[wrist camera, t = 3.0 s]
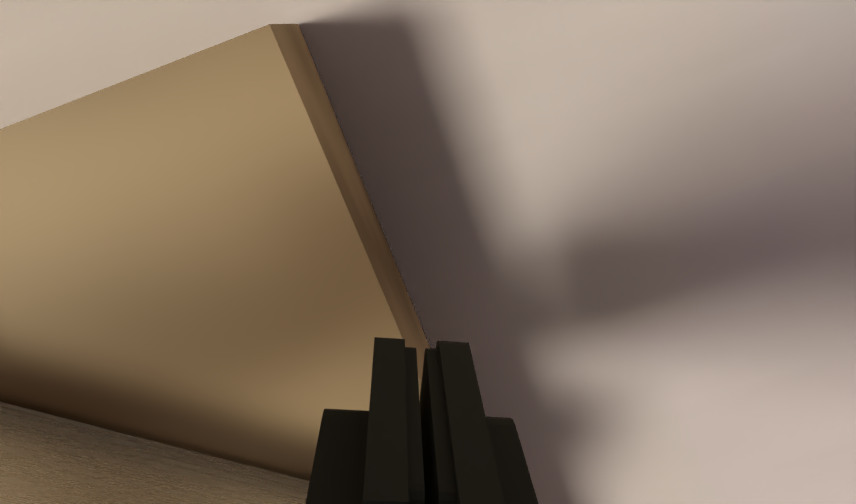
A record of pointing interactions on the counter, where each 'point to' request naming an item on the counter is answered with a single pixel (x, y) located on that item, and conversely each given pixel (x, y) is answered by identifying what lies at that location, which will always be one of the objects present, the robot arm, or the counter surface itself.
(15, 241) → the base plate
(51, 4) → the counter surface
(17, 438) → the latch bar
